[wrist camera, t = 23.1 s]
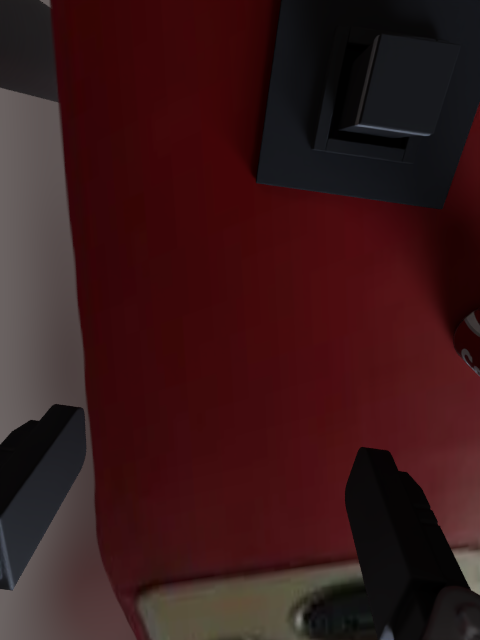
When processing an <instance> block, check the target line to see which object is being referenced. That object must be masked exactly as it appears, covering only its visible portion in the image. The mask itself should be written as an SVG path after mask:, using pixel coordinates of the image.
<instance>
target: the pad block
mask: <svg viewBox="0 0 480 640" xmlns="http://www.w3.org/2000/svg"><path fill="white" fill-rule="evenodd" d="M460 47H461V45H459V44H452V43H445V42H438V41H432V40H425V39H418V38H411V37H404V36H397V35H391V34H384V33H382V34H381V35H378V36H377V37H376V38H375V39H374V42H373V43H372V44H371V45H370V46H369V47H368V48H367V49H366V50H365V51H364V52H363V53H362V54H360V55H359V56H358V57H357V58H356V59H355V60H354V61H353V62H352V64H351V68H350V73H349V77H348V82H347V87H346V91H345V96H344V101H343V105H342V110H341V115H340V119H339V124H338V129H337V131H343V132H350V133H357V134H364V135H371V136H378V137H385V138H392V139H394V138H403V137H411V136H420V135H422V136H429V135H430V134H433V133H434V130H435V127H436V124H437V121H438V117H439V114H440V111H441V108H442V104H443V101H444V98H445V95H446V92H447V88H448V85H449V82H450V79H451V76H452V72H453V69H454V66H455V63H456V59H457V56H458V53H459V50H460Z"/></svg>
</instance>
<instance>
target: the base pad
mask: <svg viewBox="0 0 480 640" xmlns="http://www.w3.org/2000/svg"><path fill="white" fill-rule="evenodd" d="M382 33H384V34H391V35H397V36H404V37H411V38H418V39H425V40H432V41H438V42H445V43H452V44H459V45H461V47H460V50H459V53H458V56H457V59H456V63H455V66H454V69H453V72H452V76H451V79H450V82H449V85H448V88H447V92H446V95H445V98H444V101H443V104H442V108H441V111H440V114H439V117H438V121H437V124H436V127H435V130H434V133H433V134H430V135H429V136H422V135H420V136H411V137H403V138H394V139H392V138H385V137H378V136H371V135H364V134H357V133H350V132H343V131H337V129H338V124H339V119H340V115H341V110H342V105H343V101H344V96H345V91H346V87H347V82H348V77H349V73H350V68H351V64H352V62H353V61H354V60H355V59H356V58H357V57H358V56H359V55H360V54H362V53H363V52H364V51H365V50H366V49H367V48H368V47H369V46H370V45H371V44H372V43H373V42H374V39H375V38H376V37H377V36H378V35H381V34H382ZM479 102H480V0H281V6H280V14H279V21H278V28H277V35H276V42H275V49H274V57H273V64H272V71H271V78H270V85H269V93H268V100H267V107H266V114H265V121H264V128H263V136H262V143H261V150H260V157H259V164H258V171H257V179H256V183H260V184H267V185H274V186H281V187H288V188H295V189H302V190H309V191H316V192H323V193H330V194H337V195H344V196H351V197H358V198H365V199H372V200H379V201H386V202H393V203H400V204H407V205H414V206H421V207H428V208H435V209H443V206H444V203H445V200H446V197H447V194H448V191H449V188H450V186H451V183H452V180H453V177H454V174H455V171H456V168H457V165H458V162H459V160H460V157H461V154H462V151H463V148H464V145H465V142H466V139H467V137H468V134H469V131H470V128H471V125H472V122H473V119H474V116H475V113H476V111H477V108H478V105H479Z"/></svg>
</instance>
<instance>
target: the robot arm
mask: <svg viewBox="0 0 480 640" xmlns="http://www.w3.org/2000/svg"><path fill="white" fill-rule="evenodd" d="M85 435H86V434H85V416H84V410H83V408H81V407H73V406H66V405H59V404H55V405H53V406H52V407H51V408H50V409H49V410H48V411H47V413H46V414H45V415H44V416H43V417H42V418H41V420H40V421H35V420H30V421H28V422H27V423H25V424H23V425H22V426H20V427H19V428H17V429H15V430H14V431H12V432H11V433H10V434H9V436H8V437H7V438H6V439H5V440H4V441H3V442H2V443H1V444H0V589H5V590H13V589H14V587H15V585H16V583H17V581H18V580H19V578H20V576H21V574H22V573H23V571H24V569H25V567H26V566H27V564H28V562H29V560H30V559H31V557H32V555H33V553H34V551H35V550H36V548H37V546H38V544H39V543H40V541H41V539H42V537H43V536H44V534H45V532H46V530H47V529H48V527H49V525H50V523H51V522H52V520H53V518H54V516H55V514H56V513H57V511H58V509H59V507H60V506H61V504H62V502H63V500H64V498H65V497H66V495H67V493H68V491H69V490H70V488H71V486H72V484H73V483H74V481H75V479H76V477H77V476H78V474H79V472H80V470H81V468H82V466H83V463H84V459H85V455H86V436H85ZM345 504H346V510H347V514H348V518H349V522H350V526H351V530H352V534H353V539H354V543H355V547H356V551H357V555H358V559H359V563H360V567H361V572H362V576H363V580H364V584H365V588H366V592H367V596H368V600H369V605H370V609H371V613H372V617H373V621H374V625H375V629H376V633H377V638H378V640H480V595H478V594H477V593H475V592H473V591H471V589H470V587H469V585H468V584H467V581H466V579H465V577H464V575H463V573H462V571H461V569H460V567H459V565H458V563H457V561H456V559H455V557H454V554H453V552H452V550H451V548H450V546H449V544H448V542H447V540H446V538H445V536H444V534H443V532H442V530H441V528H440V526H438V524H437V523H438V521H437V519H436V517H435V515H434V513H433V511H432V510H430V505H429V503H428V501H427V499H426V496H425V494H424V492H423V490H422V488H421V487H420V486H419V485H418V484H417V483H416V482H415V481H414V479H413V478H412V477H411V476H410V475H409V474H408V473H407V472H401V471H398V469H397V466H396V464H395V462H394V459H393V457H392V455H391V453H390V452H389V451H387V450H380V449H373V448H366V447H361V448H360V449H359V450H358V453H357V456H356V458H355V461H354V464H353V467H352V470H351V473H350V476H349V479H348V481H347V485H346V490H345Z"/></svg>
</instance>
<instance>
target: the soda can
mask: <svg viewBox="0 0 480 640" xmlns="http://www.w3.org/2000/svg"><path fill="white" fill-rule="evenodd" d="M453 343H454V348H455V350H456V352H457V353H458V355H459V356H460V357H461V358H462V359H463V360H464V361H465V362H466V363H467V364H468V365H469V366H470V367H471V368H472V369H473V370H474V371H475V372H476V373H477V374H478V375H479V376H480V308H478V309H476V310H474V311H473V312H471V313H470V314H468V315H467V316H466V317H465V318H464V319H463V320H462V321H461V322H460V323H459V325H458V326H457V328H456V330H455V333H454V338H453Z"/></svg>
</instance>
